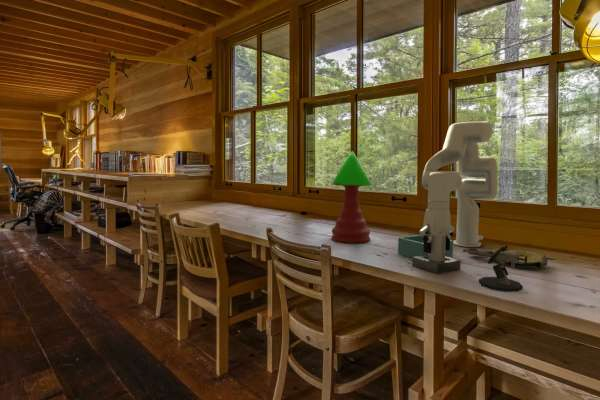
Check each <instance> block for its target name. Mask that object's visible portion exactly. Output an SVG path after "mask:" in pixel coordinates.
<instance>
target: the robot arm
mask: <svg viewBox="0 0 600 400" xmlns="http://www.w3.org/2000/svg"><path fill="white" fill-rule="evenodd" d="M492 134H493V127H492V125H491V123H490V121H464V122H463V121H462V122H455V123H452V124H451V125H450V126H449V127H448V129H447V133H446V136H445V140H444V143H443V146H442V149H441V150H440V151H438V152H436V153H435V154H434V155H433V156H432V157H430V158H429V160H428V161H427V162H426V164H425V166H424V169H423V172H422V177H421V185H422V187H423V188H424V189H425V190H427V191H428V192H427V208H426V209H425V213H424V217H423V224H422V228H421V229H420V230H419V231H418V232H419V235H421V238H422V241H424V248H423V251H424V252H426V253H431V244H432V243H431V242H430V241H431V240H432V238H433V237H436V236H437V235H438V233H439V232H440V231H441V230H442V229H444V231H445V232H446V245H445V250H450V240H452V236H454V233H455V232H454V231H455V226H453V225H452V224H451V223H452V221H451V211H450V205H451V203H450V198H451V196H450V195H451V192H455V191H456V198H457V199H456V200H457V206H456V209H457V212H456V234H455V239H454V240H452V241H453V246H454V245H455V246H457V247H463V248H479V247H481V246H482V243H481V242H480V240H483V239H484V236H483V235H479V219H480V207H479V205H478V204H477V202H476V201H475V200H480V201H481V200H484V201H492V200H494V199H496V197H497V195H498V162H497V160H496V159H495V158H494V157H492V156H480V155H479V145H478V143H487V142H488V141H489V140H490V139H491V138H492ZM457 162H458V172H457V171H454V170H453V171H451V170H450V171H449V170H439V169H441V168H442V167H445V166H448V165H452V164H454V163H457ZM462 177H465V178H462ZM483 178H484V179H483ZM428 237H429V238H428Z"/></svg>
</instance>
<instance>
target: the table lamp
mask: <svg viewBox="0 0 600 400" xmlns="http://www.w3.org/2000/svg"><path fill="white" fill-rule="evenodd" d="M331 184H332V185H333V186H342V187H343V188H344V192H343V195H344V197H343V198H344V200H343V202H342V203H343V204H342V209H341V210H340V212H339V217H338V218H337V219H336V220H335V225H334V227H333V228H331V233H332V236H331V237H330V238H331V240H332V241H334V242H339V243H348V244H359V243H366V242H370V241H371V238H370V235H371V234H370V233H371V230H370V229H369V228H368V226H367V221H366V219H365V217H363V212H362V209H361V208H360V201H359V196H360V192H359V189H360V187H361V186H362V187H363V186H366V187H367V186H371V185H372V182H371V179H369V177H368V175H367V173H366V170H365V169H364V167H363V165H362V163H361V162H360V160H359V159H358V157H357V156H356V154H355V152H354V151H353V150H352V151H351V152H350V153H349V155H348V156H347V158H346V159H345V161H344V162H343V164H342V165H341V167H340V169H339V170H338V171H337V175H336V176H335V178H334V180H333V182H332V183H331Z"/></svg>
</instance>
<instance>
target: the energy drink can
mask: <svg viewBox="0 0 600 400" xmlns="http://www.w3.org/2000/svg"><path fill="white" fill-rule="evenodd" d="M430 242H431V243H432V244H431V253H428V260H431V261H435V262H441V261H445V245H446V232H445V231H444V229H442V230H441V231H440V232H439V233H438V235H437V236H436V237H433V238H432V240H431V241H430Z"/></svg>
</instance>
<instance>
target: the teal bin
mask: <svg viewBox="0 0 600 400" xmlns="http://www.w3.org/2000/svg"><path fill="white" fill-rule="evenodd" d="M428 238H429V237H428ZM453 241H454V240H452V239H451V240H450V250H445V256H446V257H450V258H454V257H453V256H454V255H453V254H454V244H453ZM397 243H398V244H397V245H398V246H397V254H399V255H402V256H405V257H409V258H411V259H413V257H416V256H422V255H428V253H426V252H424V251H423V248H424V241H422V238H421V235H420V234H419V235H418V234H416V235H410V236H401V237H398V240H397Z"/></svg>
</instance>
